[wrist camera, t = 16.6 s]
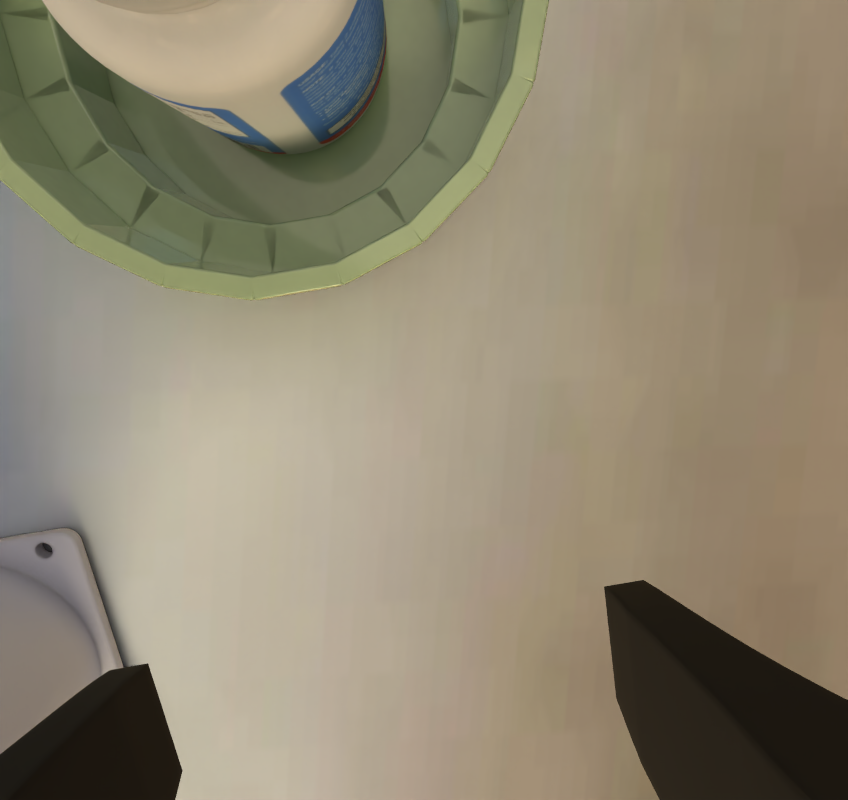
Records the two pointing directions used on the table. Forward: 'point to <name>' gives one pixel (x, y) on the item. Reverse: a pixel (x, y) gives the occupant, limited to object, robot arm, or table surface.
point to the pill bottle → (243, 61)
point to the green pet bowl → (263, 154)
